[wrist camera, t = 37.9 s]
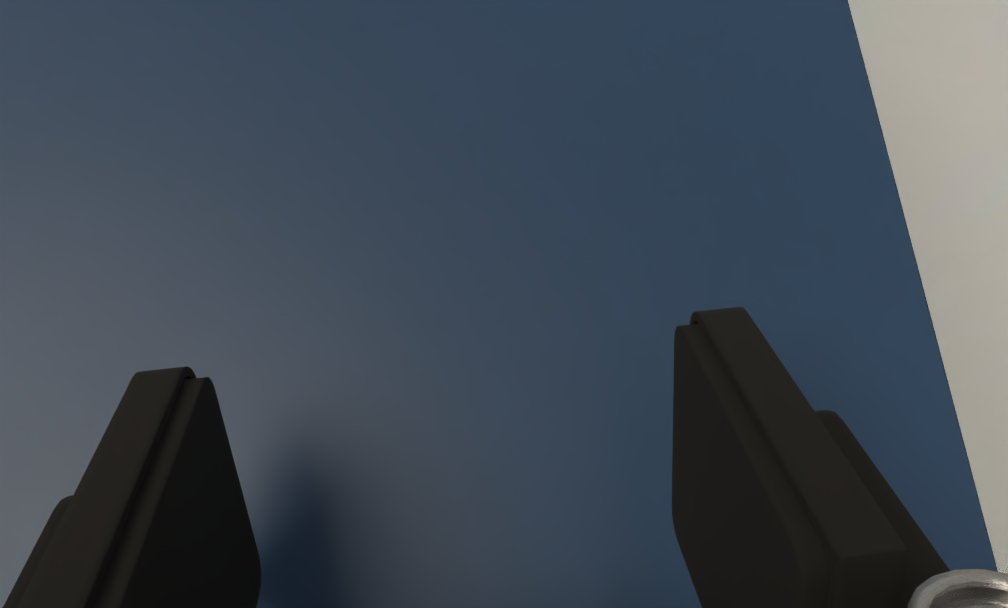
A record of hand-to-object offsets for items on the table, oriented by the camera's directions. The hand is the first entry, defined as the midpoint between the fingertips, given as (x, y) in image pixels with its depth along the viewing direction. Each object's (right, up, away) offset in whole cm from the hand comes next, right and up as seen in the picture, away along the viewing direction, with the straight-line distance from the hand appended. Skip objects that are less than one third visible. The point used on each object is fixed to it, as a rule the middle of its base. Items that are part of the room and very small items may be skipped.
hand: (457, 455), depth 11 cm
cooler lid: (0, +1, +3) cm, 3 cm away
